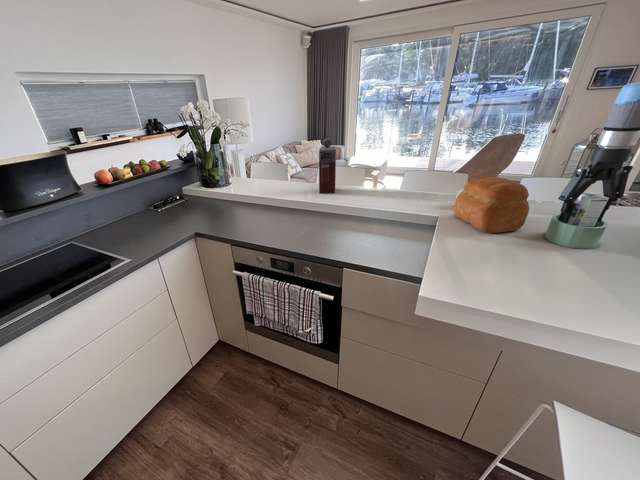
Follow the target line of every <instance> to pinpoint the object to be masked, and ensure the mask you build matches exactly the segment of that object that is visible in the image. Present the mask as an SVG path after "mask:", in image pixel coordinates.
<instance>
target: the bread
mask: <svg viewBox="0 0 640 480" xmlns="http://www.w3.org/2000/svg"><path fill="white" fill-rule="evenodd" d="M463 188H464V190H463V191H462V192H461V193H460V194H459V196H458V197H457V199H456V201H455V200H454V204H453V214H454V215H455V216H456V217H457V218H459V219H460V220H463V221H464V222H465V223H468V224H470V225H471V226H472V227H473V228H476V229H478V230H479V231H482V232H485V233H491V234H492V233H493V234H496V233H509V232H513V231H518V230H520V229H521V228H523V226H524V225H525V223H526V221H527V218H528V215H529V212H530V206H529V201H528V198H529V196H530V194H529V190H528V188H527V187H526V186H525V185H524V184H522V183H518V182H516V181H514V180H511V179H508V178H505V177H499V176H496V175H482V176H481V175H479V176H476V177H474V178H472V179H470V180H469V181H467V182H466V184H465V185H463Z"/></svg>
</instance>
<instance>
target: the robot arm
mask: <svg viewBox="0 0 640 480" xmlns="http://www.w3.org/2000/svg"><path fill="white" fill-rule="evenodd" d="M639 138H640V81H638V82H631V83H627V84H625V85H624V86H622V88H621V89H620V92H619V93H618V95H617V96H616V98H615V101H614V102H613V106H612V107H611V111H610V113H609V114H608V118H607V120H606V121H605V124H604V126H603V128H602V131H601V133H600V135H599V138H598V140H597V142H596V145H597V146H595V147H594V148H593V151H592V153H591V155H590V158H589V160H590V163H589V164H588V165H587V167H578V166H577V167H576V168H575V170H574V173H573V175H572V177H571V178H570V180H569V181H568V183H567V184H566V186H565V187H564V189H563V190H562V192H560V195H559V196H558V198H557V199H558V200H559V201H563V203H562V206H561V208H560V213H561V214H560V216H559V219H558V220H559V221H561V222H564V223H567V222H568V220H569V218H570V216H571V214H572V211H573V209H574V207H575V205H576V204H575V203H573V202H574V201H575V200H576V199H577V198H578V197H579V196H580V195H581V194H582V193H583V192H586V191H587V190H588V189H589V188H590V186H592V185H594V184H596V182H599V181H601V182H602V183H601V184H602V193H603V195H602V196H604V197H608V198H609V199H608V201H607V203H606V205H605V207H604V209H603V210H602V212H601V214H600V216H599V218H598V220H597V221H598V222H600V221H601V220H603V218H604V216H605V214H606V212H607V211H608V210H609V209H610V207H611V205H612V203H613V202H615V203H616V202H618V201H619V199H623V197H624V195H625V190H626V188H627V183H628V179H629V175H630V174H631V172H632V170H633V168H634V166H633V165H630V164H624V163H626V162H627V161H628V160H629V158H630V156H631V155H632V152H633V150H634V149H633V147H634V146H636V145H637V143H638V141H639Z"/></svg>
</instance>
